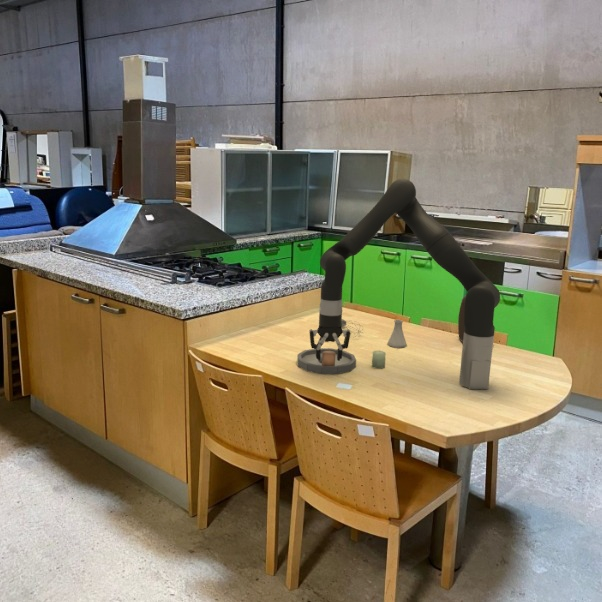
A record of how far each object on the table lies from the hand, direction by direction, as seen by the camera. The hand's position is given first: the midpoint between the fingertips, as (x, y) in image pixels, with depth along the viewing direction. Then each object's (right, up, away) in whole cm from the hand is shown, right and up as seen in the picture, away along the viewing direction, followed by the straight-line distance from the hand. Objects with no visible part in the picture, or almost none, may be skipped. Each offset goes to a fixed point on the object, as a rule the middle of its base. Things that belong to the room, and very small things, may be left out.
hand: (328, 359), depth 206 cm
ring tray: (-1, -2, +6) cm, 7 cm away
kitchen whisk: (+8, +8, +51) cm, 53 cm away
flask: (+28, +2, +30) cm, 41 cm away
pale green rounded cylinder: (+18, -3, +6) cm, 19 cm away
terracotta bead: (0, -3, +1) cm, 3 cm away
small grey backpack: (+58, +3, +36) cm, 69 cm away
